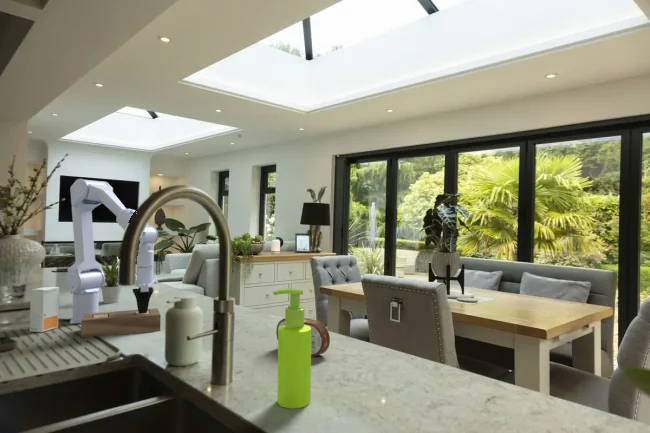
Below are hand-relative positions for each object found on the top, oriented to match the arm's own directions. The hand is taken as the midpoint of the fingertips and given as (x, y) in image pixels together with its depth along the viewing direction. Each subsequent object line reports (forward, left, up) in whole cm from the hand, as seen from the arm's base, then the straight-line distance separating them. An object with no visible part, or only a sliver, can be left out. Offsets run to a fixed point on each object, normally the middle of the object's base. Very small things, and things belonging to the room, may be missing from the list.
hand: (142, 312), depth 130 cm
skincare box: (-9, -26, -5) cm, 27 cm away
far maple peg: (0, 0, -4) cm, 4 cm away
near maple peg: (0, -11, -4) cm, 12 cm away
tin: (+41, +33, -5) cm, 53 cm away
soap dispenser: (+67, +20, -5) cm, 70 cm away
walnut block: (0, -6, -4) cm, 7 cm away
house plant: (-49, -9, -5) cm, 50 cm away
